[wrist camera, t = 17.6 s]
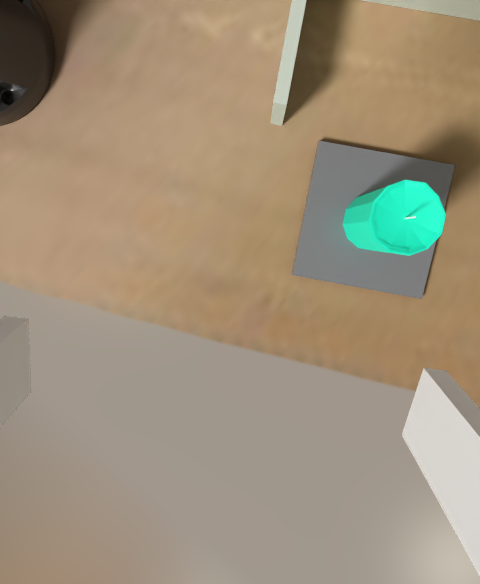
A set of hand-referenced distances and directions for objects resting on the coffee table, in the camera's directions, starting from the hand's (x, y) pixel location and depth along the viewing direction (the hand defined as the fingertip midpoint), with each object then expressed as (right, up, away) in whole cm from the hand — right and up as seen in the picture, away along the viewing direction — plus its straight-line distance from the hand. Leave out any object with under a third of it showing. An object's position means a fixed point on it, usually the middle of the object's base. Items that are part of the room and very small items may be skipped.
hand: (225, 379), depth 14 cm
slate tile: (+14, +10, +30) cm, 35 cm away
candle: (+14, +10, +29) cm, 34 cm away
